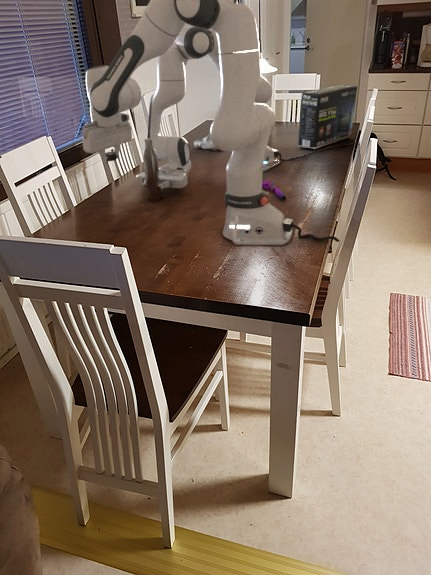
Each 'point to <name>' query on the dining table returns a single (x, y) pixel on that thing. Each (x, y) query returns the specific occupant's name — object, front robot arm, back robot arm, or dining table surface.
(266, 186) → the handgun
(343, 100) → the router box
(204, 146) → the fossil
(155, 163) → the bottle
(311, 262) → the dining table surface
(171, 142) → the back robot arm
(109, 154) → the cap
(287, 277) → the dining table surface
